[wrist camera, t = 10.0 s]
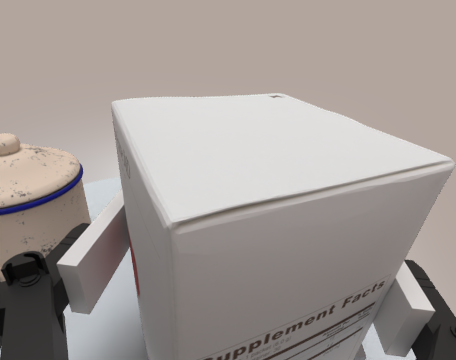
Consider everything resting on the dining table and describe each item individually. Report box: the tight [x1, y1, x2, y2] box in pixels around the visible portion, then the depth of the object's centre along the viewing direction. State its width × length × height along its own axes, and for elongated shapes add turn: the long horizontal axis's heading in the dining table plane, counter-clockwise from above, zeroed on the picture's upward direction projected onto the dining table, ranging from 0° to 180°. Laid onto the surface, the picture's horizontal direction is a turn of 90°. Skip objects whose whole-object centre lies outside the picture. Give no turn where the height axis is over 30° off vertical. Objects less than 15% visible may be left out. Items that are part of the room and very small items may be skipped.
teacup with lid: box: [0, 134, 91, 282], centre depth 20 cm, size 12×9×12 cm
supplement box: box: [111, 93, 456, 360], centre depth 13 cm, size 9×9×15 cm
